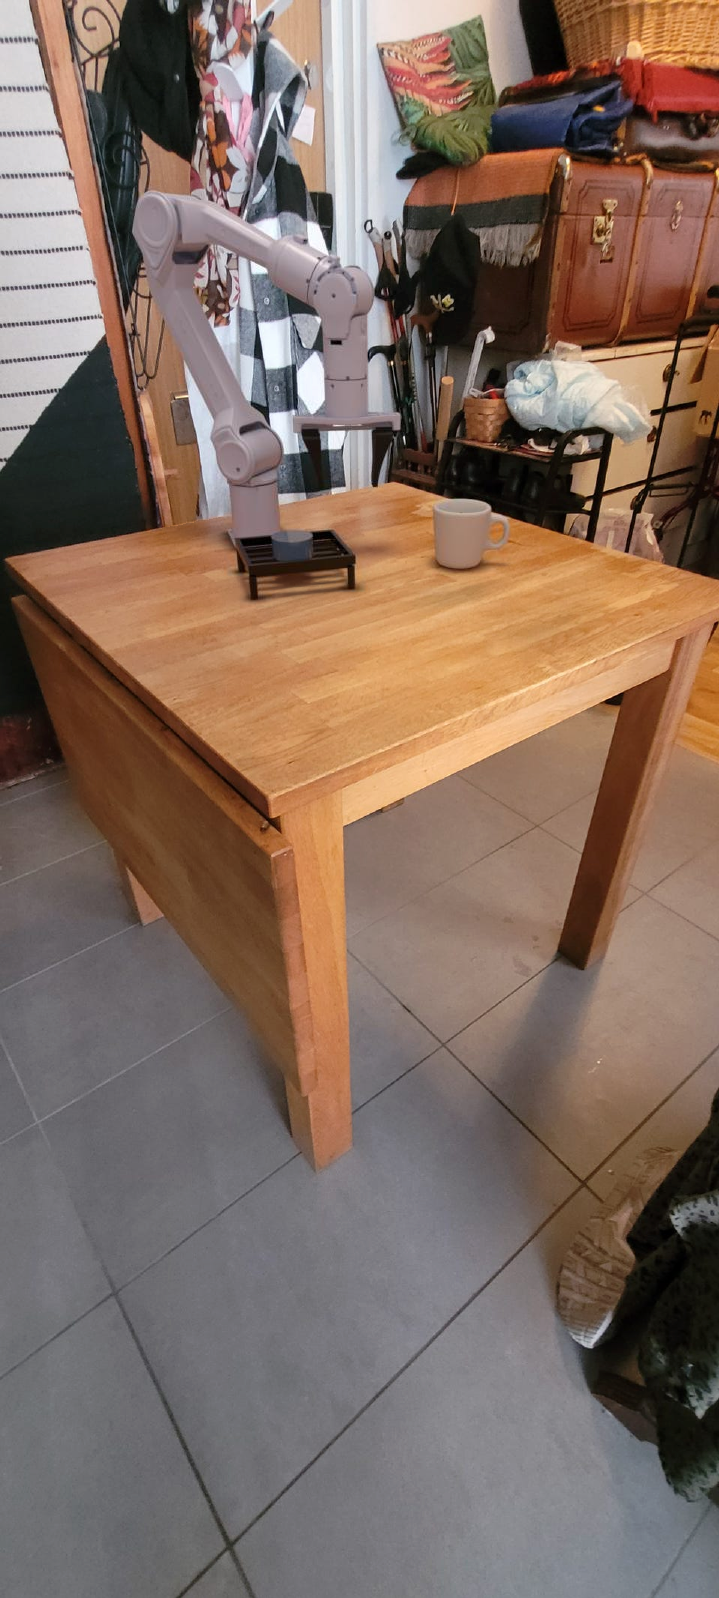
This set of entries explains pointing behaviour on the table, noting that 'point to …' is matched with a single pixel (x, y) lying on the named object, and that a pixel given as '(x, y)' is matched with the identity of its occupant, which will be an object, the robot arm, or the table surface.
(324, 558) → the rack
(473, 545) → the cup
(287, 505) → the table surface
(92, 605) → the table surface
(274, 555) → the glossy blue puck
